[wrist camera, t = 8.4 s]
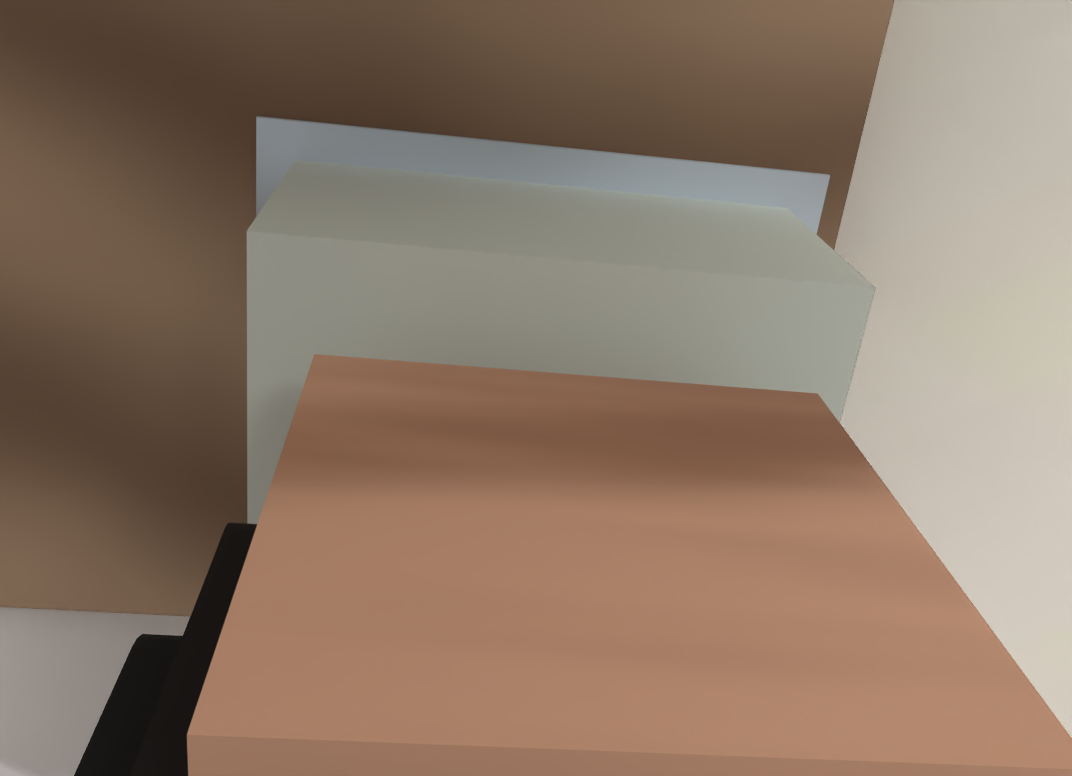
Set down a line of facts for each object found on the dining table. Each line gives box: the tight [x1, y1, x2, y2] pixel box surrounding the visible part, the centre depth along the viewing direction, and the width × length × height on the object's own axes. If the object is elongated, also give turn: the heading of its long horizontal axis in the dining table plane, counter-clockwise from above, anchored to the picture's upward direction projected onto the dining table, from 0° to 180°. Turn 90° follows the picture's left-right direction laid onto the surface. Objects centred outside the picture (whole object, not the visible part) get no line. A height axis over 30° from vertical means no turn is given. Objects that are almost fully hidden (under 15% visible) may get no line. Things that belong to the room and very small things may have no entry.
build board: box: [0, 0, 894, 616], centre depth 16 cm, size 20×16×1 cm
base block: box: [247, 160, 875, 524], centre depth 16 cm, size 8×8×4 cm
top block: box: [187, 354, 1072, 776], centre depth 11 cm, size 6×6×6 cm
